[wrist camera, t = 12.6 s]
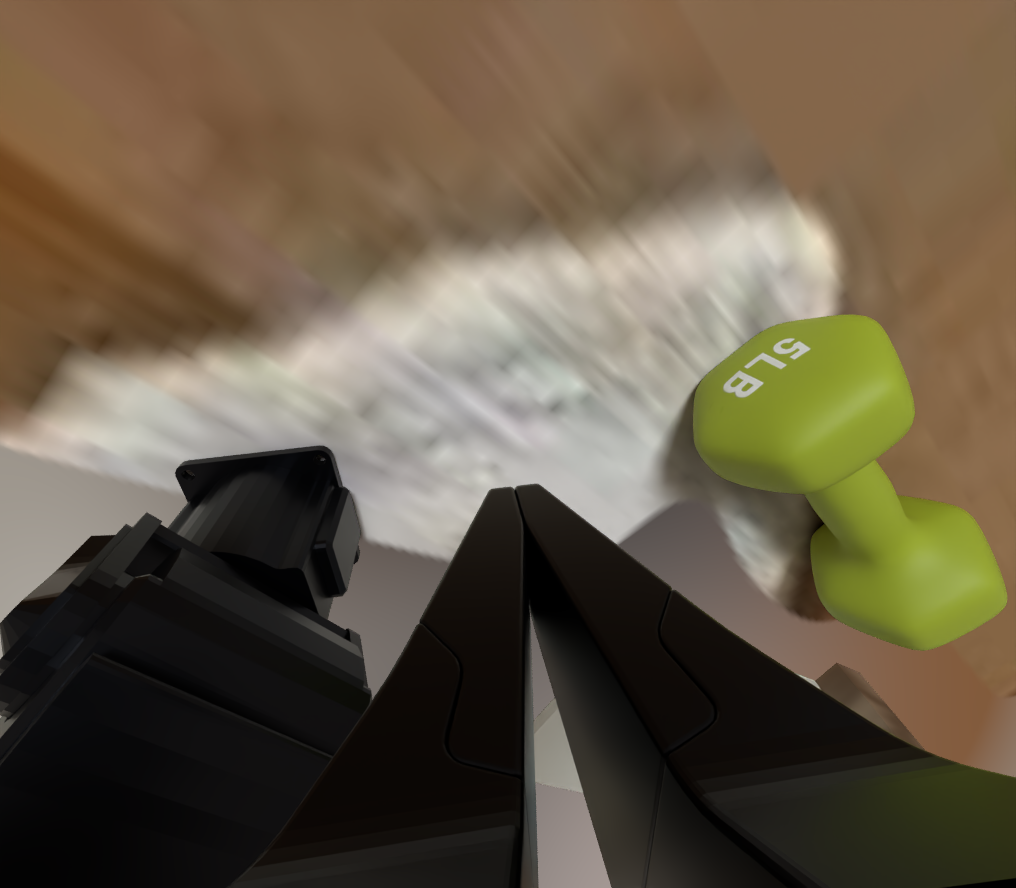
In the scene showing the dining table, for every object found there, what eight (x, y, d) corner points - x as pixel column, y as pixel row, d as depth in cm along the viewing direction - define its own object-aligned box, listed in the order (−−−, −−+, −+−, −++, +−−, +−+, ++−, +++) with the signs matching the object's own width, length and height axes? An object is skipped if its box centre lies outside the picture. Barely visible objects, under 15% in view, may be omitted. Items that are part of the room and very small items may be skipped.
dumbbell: (921, 501, 28) (1063, 596, 21) (795, 580, 30) (891, 689, 23) (802, 276, 21) (960, 317, 14) (648, 398, 23) (728, 482, 16)
